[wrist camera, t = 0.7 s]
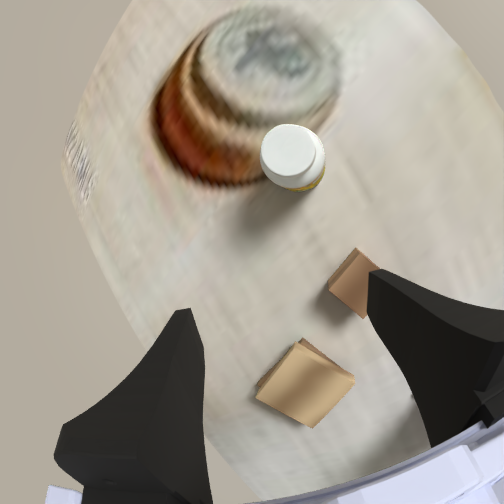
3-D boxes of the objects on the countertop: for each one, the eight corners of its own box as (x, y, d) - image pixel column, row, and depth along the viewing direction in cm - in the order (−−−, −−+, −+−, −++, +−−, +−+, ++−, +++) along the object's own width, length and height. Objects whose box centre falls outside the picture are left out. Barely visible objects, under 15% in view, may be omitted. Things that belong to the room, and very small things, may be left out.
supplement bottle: (333, 156, 29) (338, 135, 20) (309, 201, 31) (304, 199, 21) (287, 133, 30) (272, 104, 21) (263, 177, 31) (239, 165, 22)
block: (386, 274, 30) (394, 283, 26) (358, 306, 31) (363, 319, 27) (355, 247, 30) (360, 252, 26) (327, 280, 31) (328, 290, 28)
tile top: (354, 375, 31) (355, 383, 29) (313, 419, 33) (312, 428, 31) (295, 341, 32) (293, 348, 30) (258, 389, 34) (255, 397, 32)
